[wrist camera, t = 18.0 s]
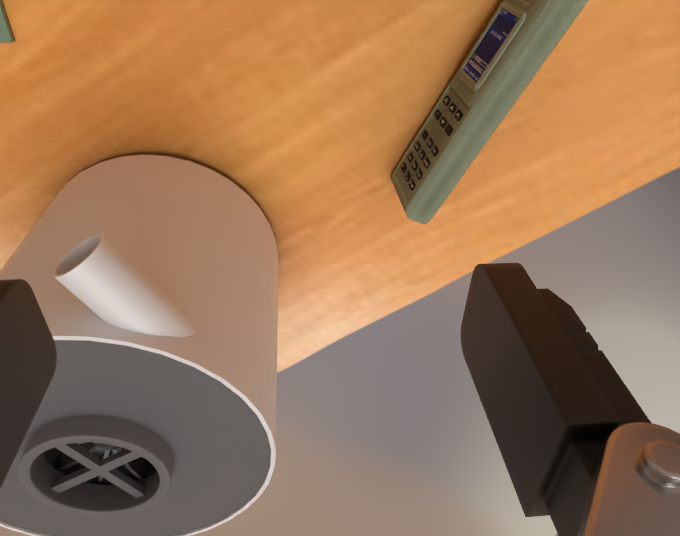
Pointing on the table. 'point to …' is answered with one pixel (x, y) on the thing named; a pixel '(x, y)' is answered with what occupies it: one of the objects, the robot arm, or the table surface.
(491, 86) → the handheld radio
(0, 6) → the mat
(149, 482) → the humidifier
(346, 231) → the table surface
